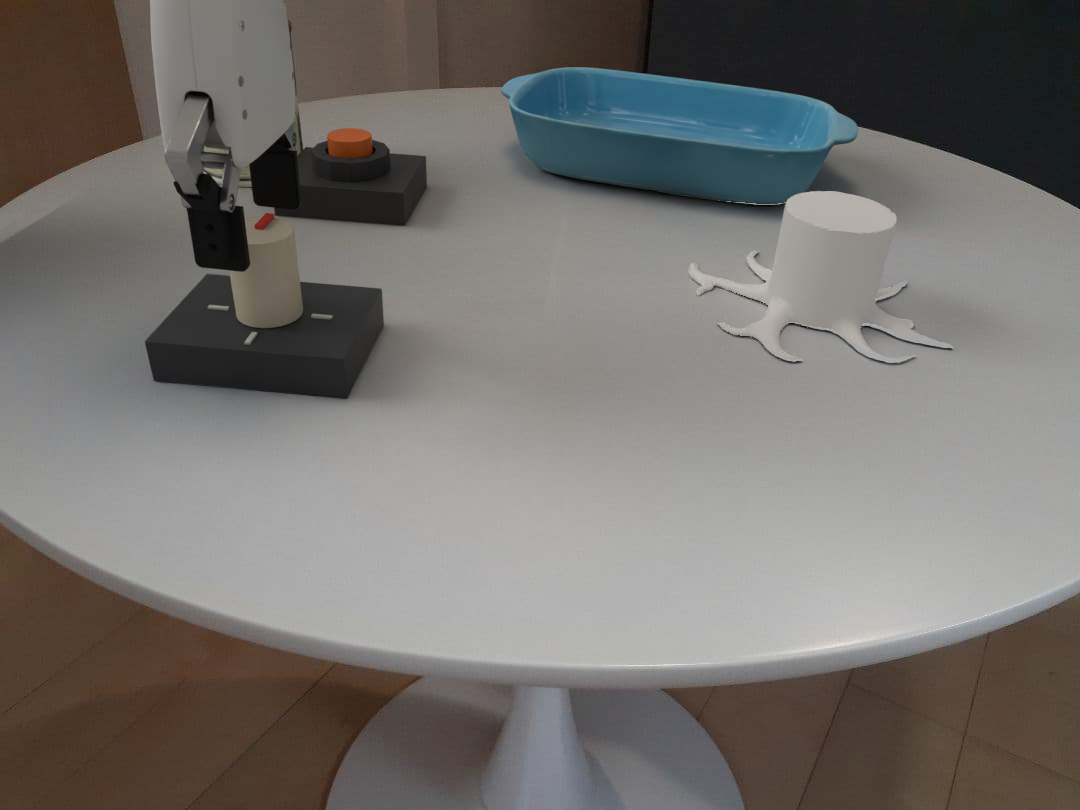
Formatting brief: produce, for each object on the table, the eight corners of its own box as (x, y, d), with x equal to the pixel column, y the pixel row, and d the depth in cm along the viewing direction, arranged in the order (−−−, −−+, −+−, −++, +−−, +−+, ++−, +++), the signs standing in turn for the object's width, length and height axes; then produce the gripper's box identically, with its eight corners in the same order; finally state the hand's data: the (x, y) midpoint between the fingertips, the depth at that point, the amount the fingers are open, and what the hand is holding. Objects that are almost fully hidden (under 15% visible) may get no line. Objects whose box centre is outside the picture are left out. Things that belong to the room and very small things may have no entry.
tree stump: (920, 268, 80) (947, 178, 76) (967, 384, 64) (1005, 280, 60) (690, 243, 83) (703, 154, 78) (681, 349, 67) (696, 246, 62)
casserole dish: (844, 157, 104) (859, 93, 100) (842, 231, 86) (860, 157, 82) (532, 118, 112) (535, 56, 108) (471, 178, 94) (471, 107, 90)
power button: (323, 159, 83) (321, 140, 82) (335, 145, 87) (334, 126, 86) (366, 162, 83) (365, 143, 82) (377, 148, 87) (376, 129, 86)
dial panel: (153, 380, 61) (143, 339, 59) (213, 309, 69) (206, 271, 67) (347, 398, 60) (343, 356, 58) (384, 324, 68) (381, 286, 66)
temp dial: (290, 331, 61) (279, 242, 57) (226, 325, 61) (210, 236, 57) (311, 300, 64) (302, 215, 61) (250, 295, 65) (238, 210, 61)
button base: (274, 216, 84) (268, 162, 81) (308, 178, 92) (303, 128, 89) (404, 226, 83) (402, 173, 80) (427, 187, 91) (425, 137, 89)
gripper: (212, -83, 57) (244, 181, 67) (66, -38, 43) (134, 289, 53) (331, -72, 57) (346, 192, 67) (223, -24, 43) (262, 303, 52)
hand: (252, 234), depth 60 cm, fingers open, 9 cm apart
